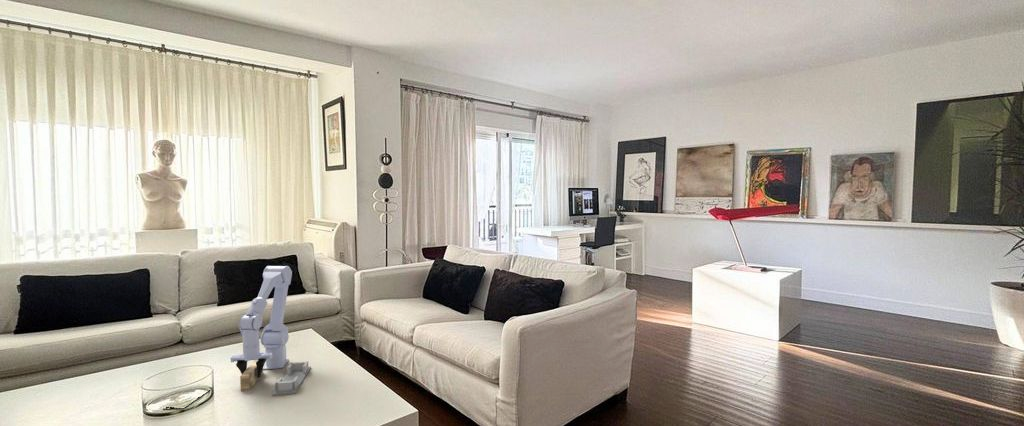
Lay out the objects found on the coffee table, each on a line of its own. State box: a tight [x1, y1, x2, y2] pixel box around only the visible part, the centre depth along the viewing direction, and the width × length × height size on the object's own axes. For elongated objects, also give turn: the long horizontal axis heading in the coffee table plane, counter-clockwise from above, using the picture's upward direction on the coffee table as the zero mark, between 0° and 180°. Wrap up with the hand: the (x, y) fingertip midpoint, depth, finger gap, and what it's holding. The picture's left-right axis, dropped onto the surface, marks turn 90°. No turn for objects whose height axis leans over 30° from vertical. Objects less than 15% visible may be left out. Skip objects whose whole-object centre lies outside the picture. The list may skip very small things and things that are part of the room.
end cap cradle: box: [271, 361, 312, 397], centre depth 174 cm, size 24×8×4 cm, turn 12°
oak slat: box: [239, 360, 264, 392], centre depth 173 cm, size 16×3×6 cm, turn 13°
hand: (252, 377), depth 173 cm, fingers open, 5 cm apart
